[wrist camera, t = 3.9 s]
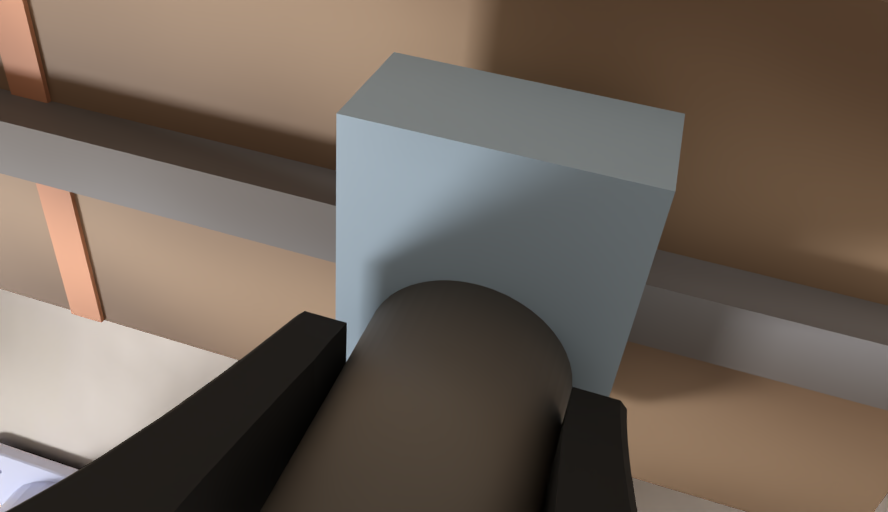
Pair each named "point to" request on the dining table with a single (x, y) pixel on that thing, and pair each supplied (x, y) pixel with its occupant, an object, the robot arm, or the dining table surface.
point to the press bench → (515, 55)
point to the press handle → (476, 283)
